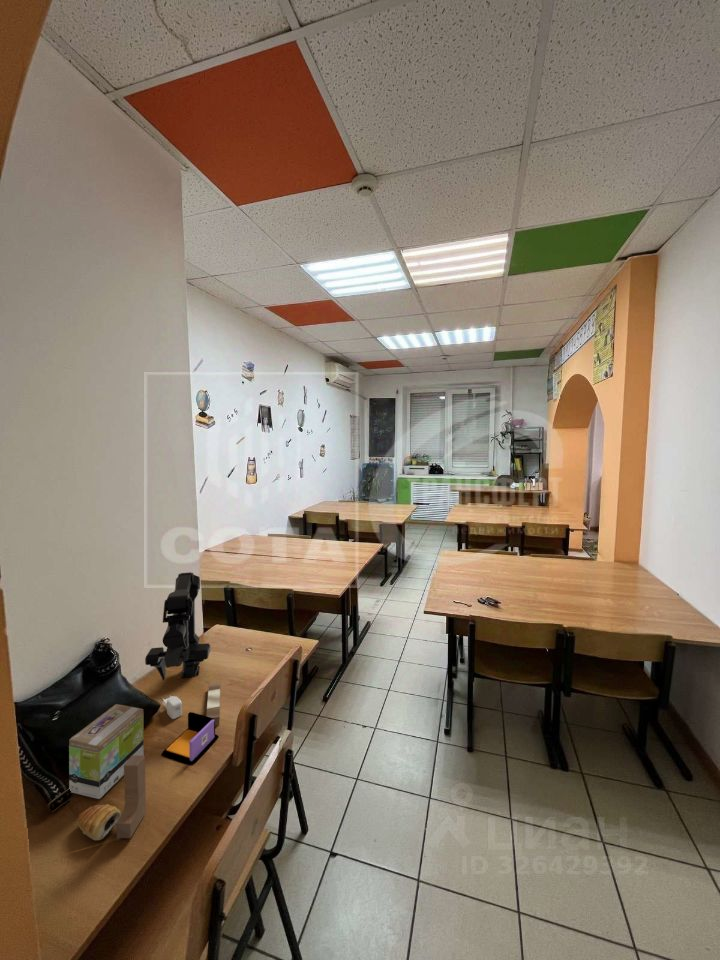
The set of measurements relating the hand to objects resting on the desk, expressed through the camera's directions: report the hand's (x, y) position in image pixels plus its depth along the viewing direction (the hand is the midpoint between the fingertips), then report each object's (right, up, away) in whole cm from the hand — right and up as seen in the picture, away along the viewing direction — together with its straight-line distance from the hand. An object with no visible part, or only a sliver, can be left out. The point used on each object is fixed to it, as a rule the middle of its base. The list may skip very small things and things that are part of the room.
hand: (179, 678), depth 125 cm
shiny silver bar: (+8, -14, +8) cm, 18 cm away
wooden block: (+5, -17, -34) cm, 39 cm away
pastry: (-4, -18, -32) cm, 37 cm away
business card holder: (+8, -16, -10) cm, 20 cm away
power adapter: (-5, -14, +5) cm, 16 cm away
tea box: (-10, -16, -20) cm, 27 cm away
